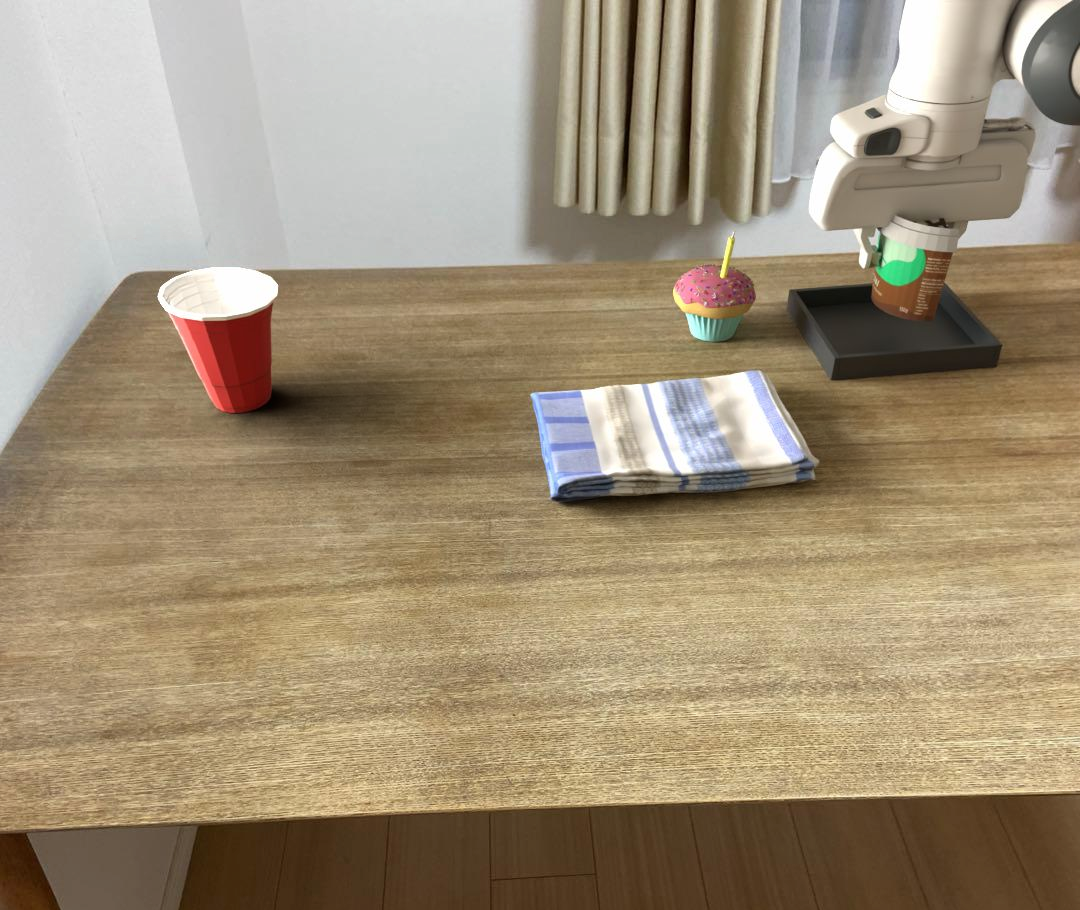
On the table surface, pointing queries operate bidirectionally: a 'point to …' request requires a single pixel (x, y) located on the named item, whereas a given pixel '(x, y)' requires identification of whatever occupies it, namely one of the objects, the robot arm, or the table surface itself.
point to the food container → (912, 267)
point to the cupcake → (715, 298)
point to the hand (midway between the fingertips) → (901, 263)
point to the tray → (888, 334)
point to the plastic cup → (226, 331)
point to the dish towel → (670, 438)
